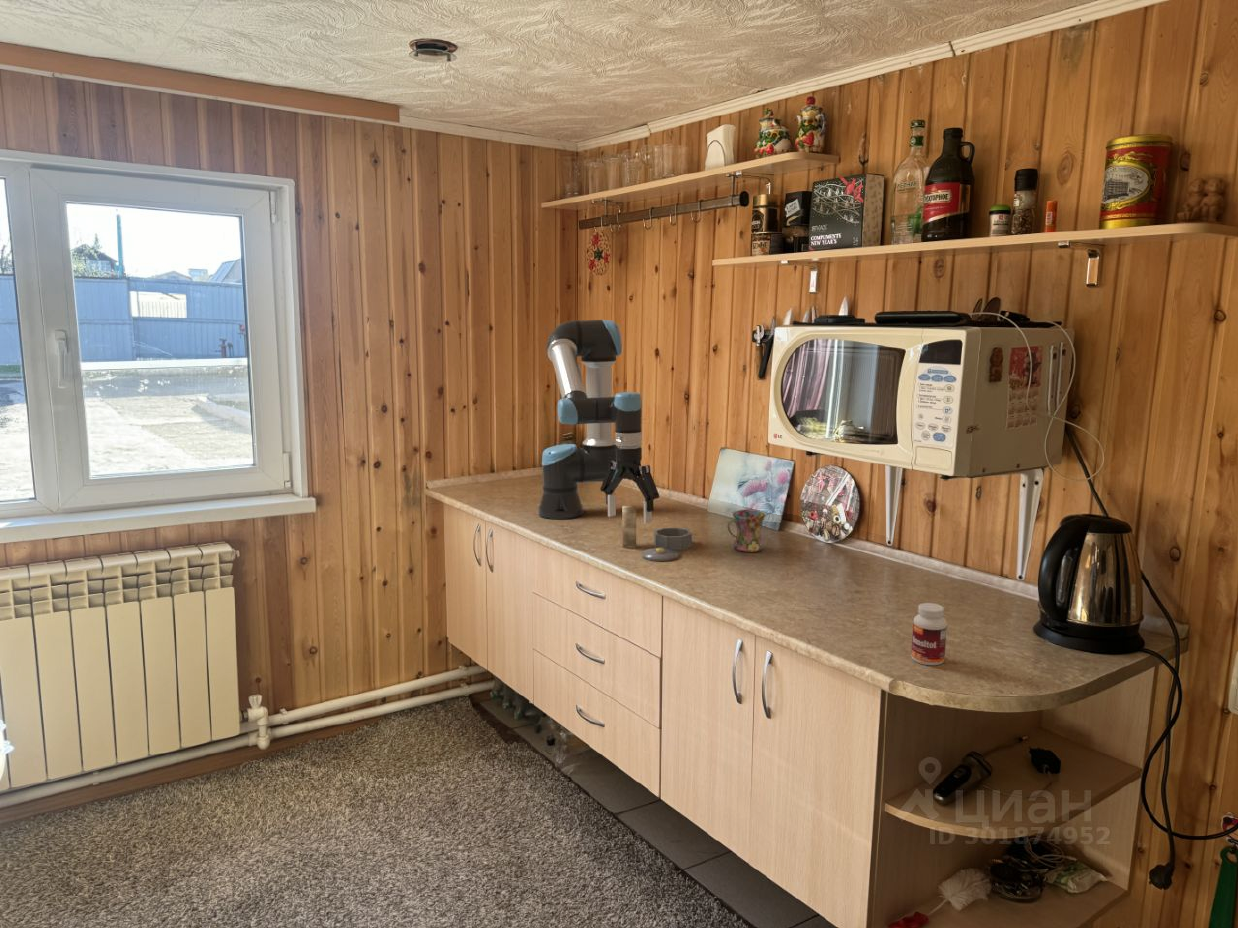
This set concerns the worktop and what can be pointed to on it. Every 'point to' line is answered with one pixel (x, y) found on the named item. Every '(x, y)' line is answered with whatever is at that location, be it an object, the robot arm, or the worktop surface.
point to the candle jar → (673, 538)
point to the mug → (748, 530)
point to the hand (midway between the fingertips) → (629, 519)
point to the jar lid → (660, 554)
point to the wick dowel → (629, 526)
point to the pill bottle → (929, 635)
